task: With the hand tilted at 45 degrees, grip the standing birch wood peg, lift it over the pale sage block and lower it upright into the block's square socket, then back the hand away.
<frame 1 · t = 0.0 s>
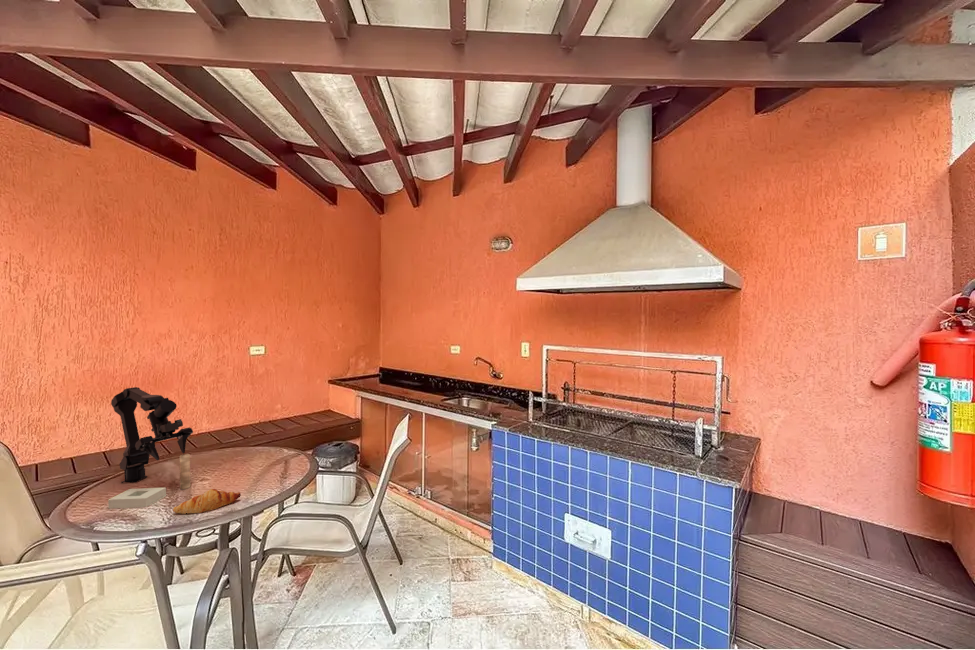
hand: (171, 456, 167), 15 cm above the table, tool tilted 35°, fingers open, 9 cm apart
peg: (185, 487, 171), on the table
socket block: (138, 502, 157), on the table
croissant: (208, 508, 152), on the table
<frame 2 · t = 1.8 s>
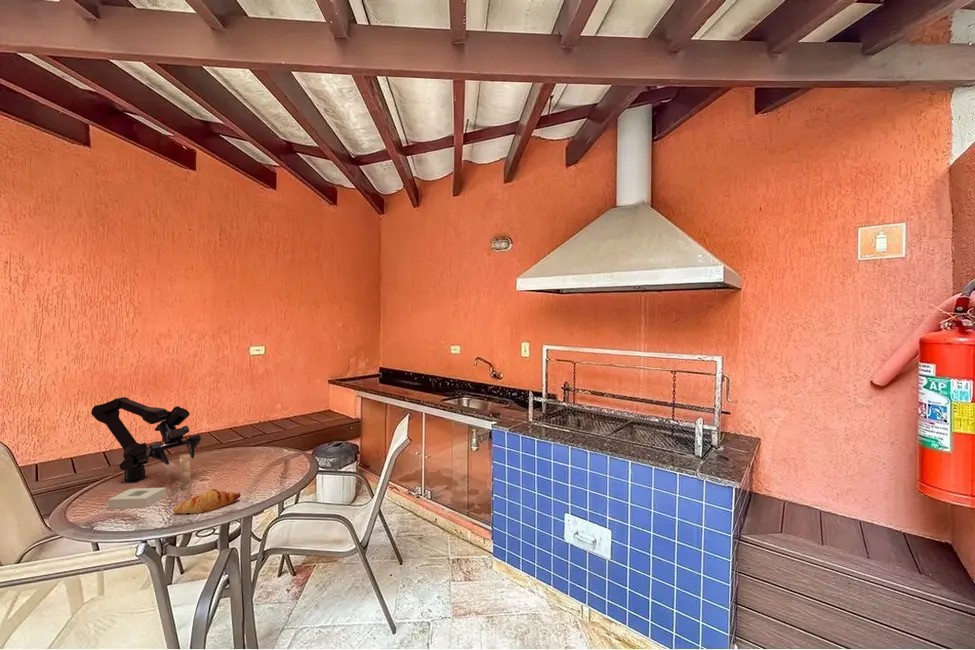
hand: (181, 461, 173), 11 cm above the table, tool tilted 45°, fingers open, 9 cm apart
nothing on the table moved.
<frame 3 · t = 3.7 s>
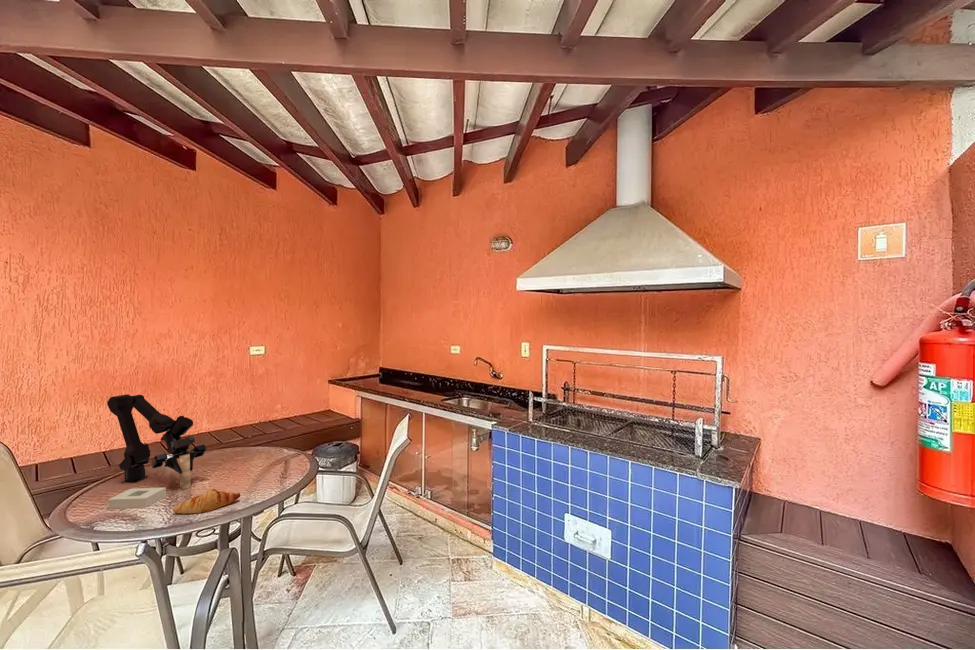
hand: (186, 471, 170), 7 cm above the table, tool tilted 45°, fingers closed on peg, 3 cm apart
peg: (185, 487, 171), on the table, touching gripper
everything else where it was.
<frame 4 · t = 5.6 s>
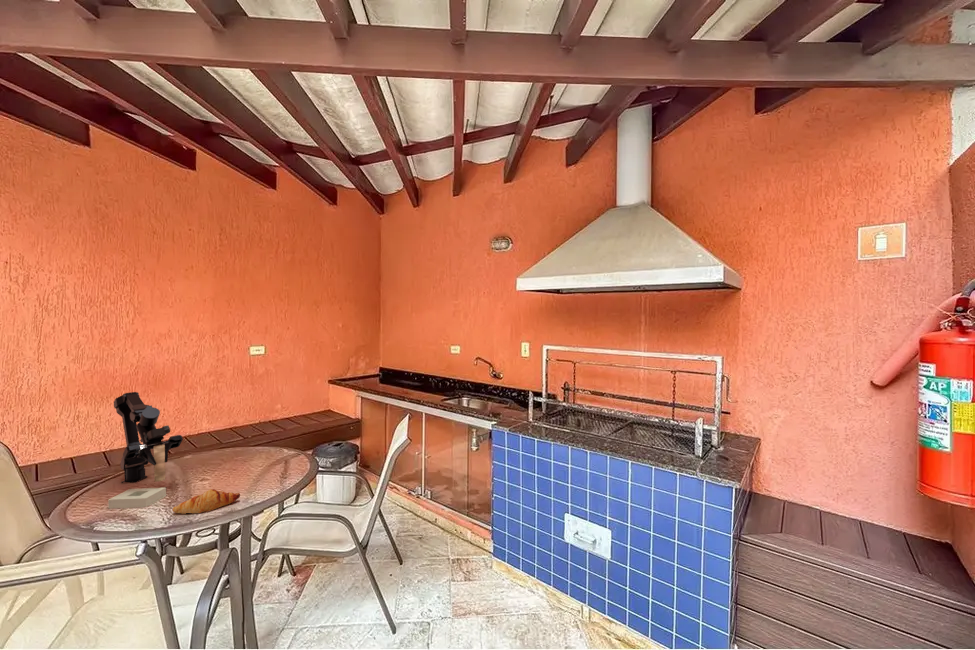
hand: (160, 463, 162), 14 cm above the table, tool tilted 45°, fingers closed on peg, 3 cm apart
peg: (159, 479, 163), point 6 cm above the table, touching gripper
everything else where it was.
when the fingers open (8 cm above the table, at t = 7.7 s): peg stays where it is, resting in socket block.
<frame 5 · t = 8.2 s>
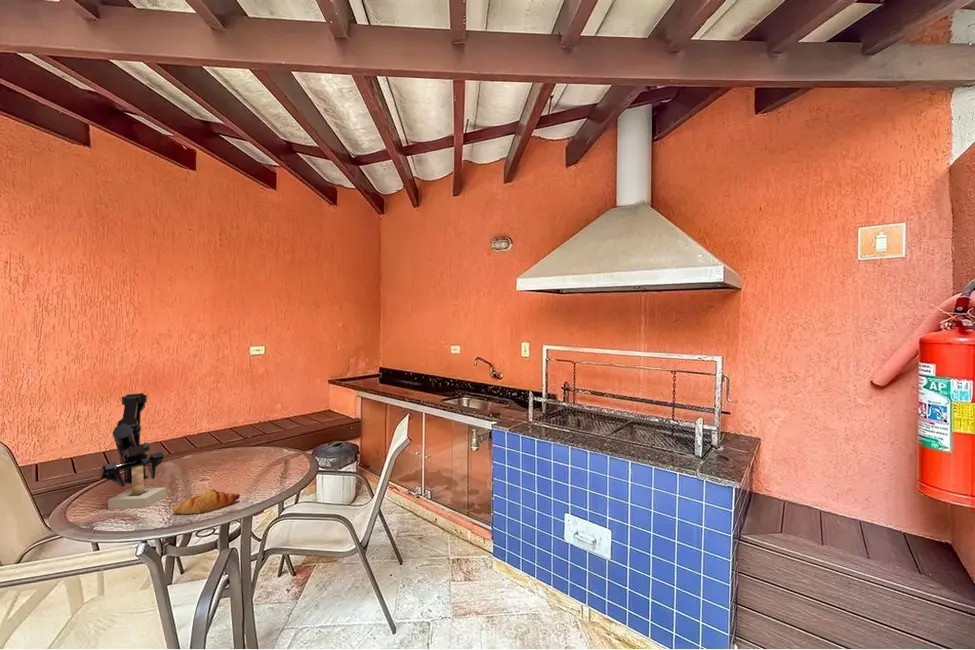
hand: (139, 482, 157), 8 cm above the table, tool tilted 45°, fingers open, 9 cm apart
peg: (138, 502, 157), resting in socket block
everything else where it was.
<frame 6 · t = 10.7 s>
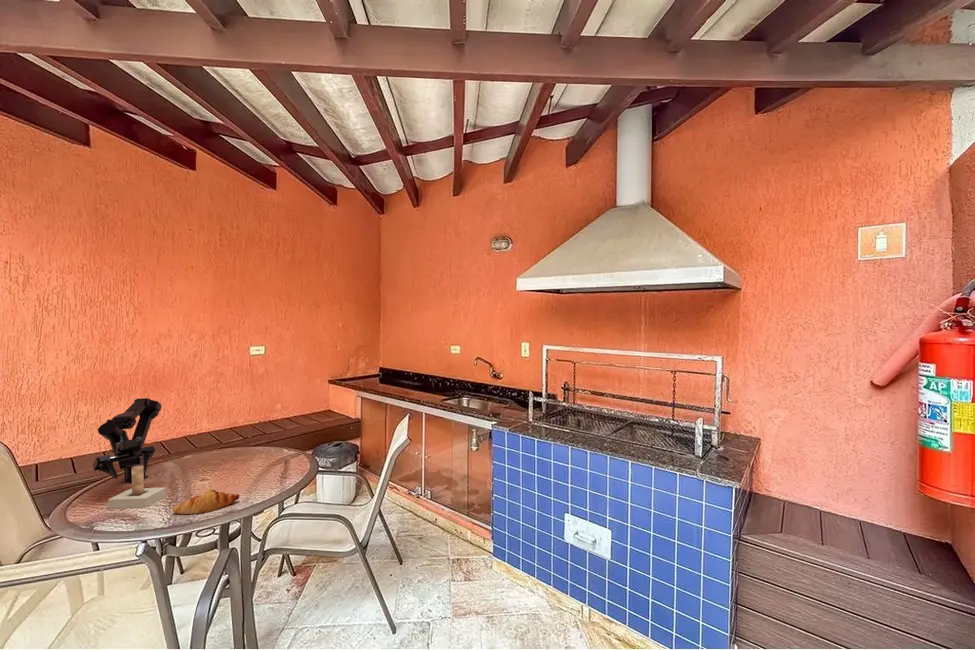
hand: (131, 474, 162), 9 cm above the table, tool tilted 45°, fingers open, 9 cm apart
nothing on the table moved.
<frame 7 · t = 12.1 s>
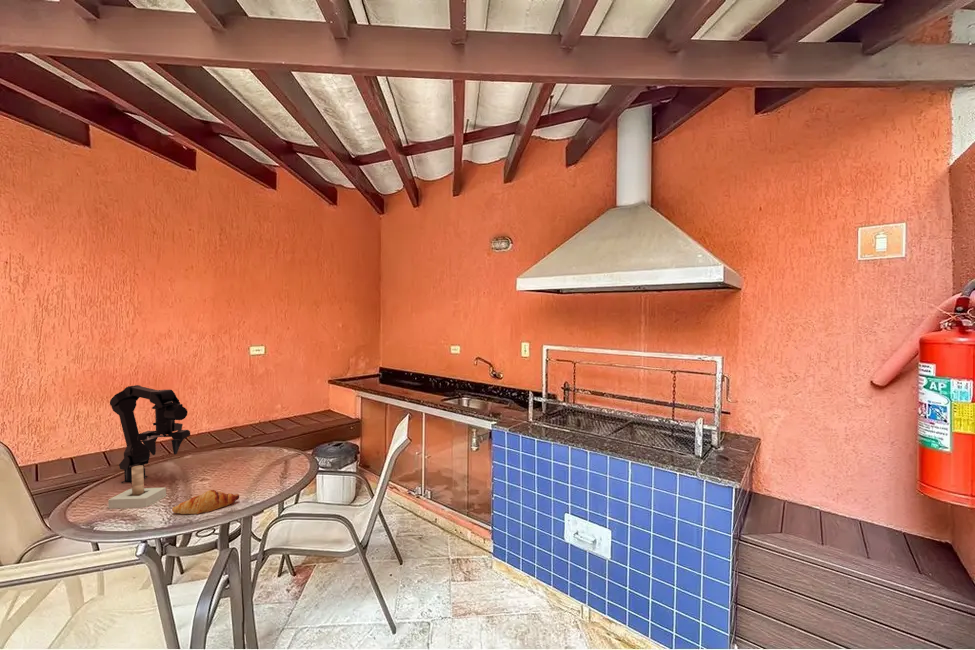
hand: (164, 454, 175), 13 cm above the table, tool pointing down, fingers open, 9 cm apart
nothing on the table moved.
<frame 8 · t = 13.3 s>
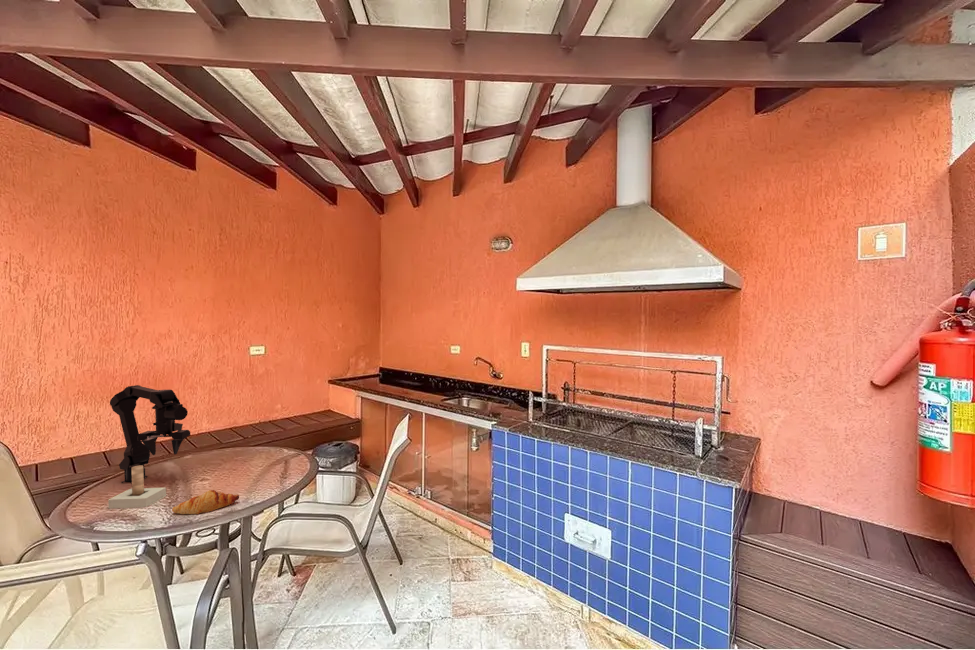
hand: (164, 454, 175), 13 cm above the table, tool pointing down, fingers open, 9 cm apart
nothing on the table moved.
at the end: peg 0.0 cm off-centre on the socket block, point 0.0 cm above the socket block's base; peg tilted 0°; the gripper is holding nothing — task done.
